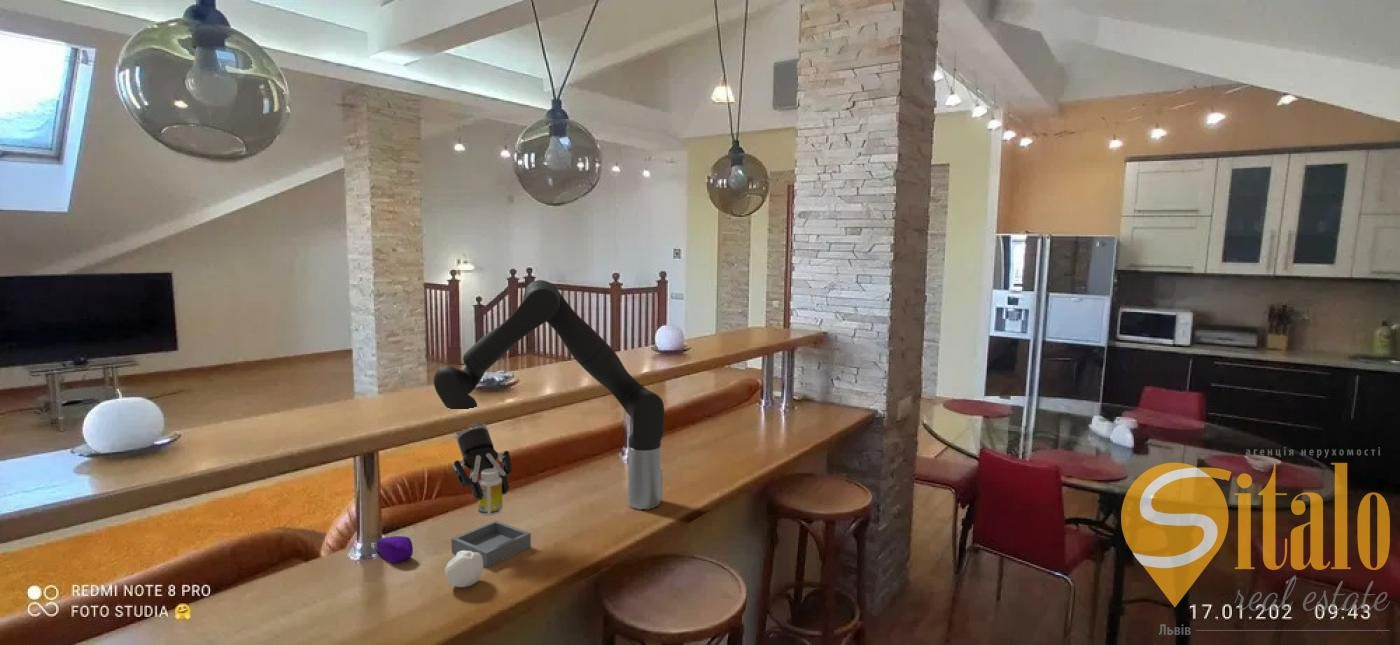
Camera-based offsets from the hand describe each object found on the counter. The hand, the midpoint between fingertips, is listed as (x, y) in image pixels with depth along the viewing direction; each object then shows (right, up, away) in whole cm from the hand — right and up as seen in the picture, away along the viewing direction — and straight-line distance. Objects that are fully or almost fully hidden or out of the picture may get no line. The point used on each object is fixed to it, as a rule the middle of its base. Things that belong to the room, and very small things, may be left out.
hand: (493, 495), depth 154 cm
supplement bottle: (-1, -5, +2) cm, 5 cm away
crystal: (-24, -14, -1) cm, 28 cm away
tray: (-1, -14, +3) cm, 14 cm away
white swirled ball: (-2, -16, -14) cm, 21 cm away
